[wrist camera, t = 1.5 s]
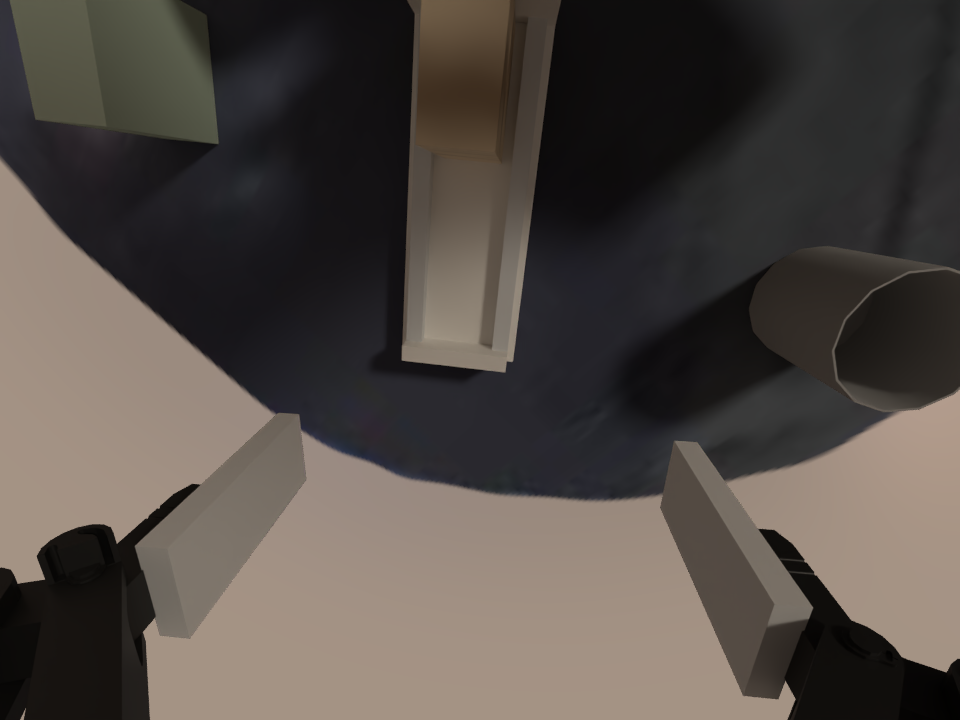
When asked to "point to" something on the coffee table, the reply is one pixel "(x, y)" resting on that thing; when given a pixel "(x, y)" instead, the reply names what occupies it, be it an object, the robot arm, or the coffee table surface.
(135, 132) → the green panel
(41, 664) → the robot arm
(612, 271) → the coffee table surface
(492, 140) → the oak panel
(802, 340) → the cup
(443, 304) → the track
